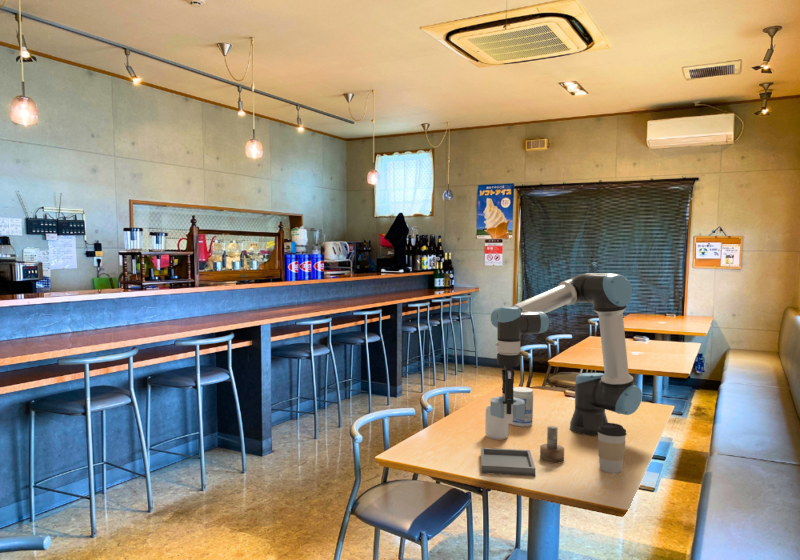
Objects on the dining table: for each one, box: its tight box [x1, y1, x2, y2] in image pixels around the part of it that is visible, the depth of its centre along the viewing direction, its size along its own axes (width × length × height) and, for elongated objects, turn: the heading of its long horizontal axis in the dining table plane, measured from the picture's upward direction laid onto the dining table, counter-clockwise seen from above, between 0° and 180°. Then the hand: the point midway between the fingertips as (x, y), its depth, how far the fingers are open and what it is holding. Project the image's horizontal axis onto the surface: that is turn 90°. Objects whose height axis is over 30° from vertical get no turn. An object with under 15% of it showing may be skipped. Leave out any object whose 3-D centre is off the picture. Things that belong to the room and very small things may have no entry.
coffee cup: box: [597, 422, 627, 474], centre depth 185 cm, size 9×9×15 cm
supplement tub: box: [511, 386, 534, 428], centre depth 235 cm, size 10×10×15 cm
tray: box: [480, 447, 536, 477], centre depth 188 cm, size 17×17×2 cm
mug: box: [485, 405, 510, 441], centre depth 219 cm, size 12×9×11 cm
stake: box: [539, 425, 565, 464], centre depth 194 cm, size 8×8×11 cm
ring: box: [489, 396, 525, 419], centre depth 188 cm, size 11×11×4 cm
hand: (507, 418), depth 188 cm, fingers closed on ring, 11 cm apart
